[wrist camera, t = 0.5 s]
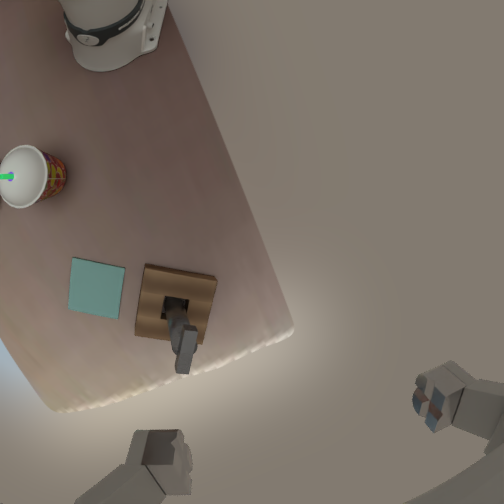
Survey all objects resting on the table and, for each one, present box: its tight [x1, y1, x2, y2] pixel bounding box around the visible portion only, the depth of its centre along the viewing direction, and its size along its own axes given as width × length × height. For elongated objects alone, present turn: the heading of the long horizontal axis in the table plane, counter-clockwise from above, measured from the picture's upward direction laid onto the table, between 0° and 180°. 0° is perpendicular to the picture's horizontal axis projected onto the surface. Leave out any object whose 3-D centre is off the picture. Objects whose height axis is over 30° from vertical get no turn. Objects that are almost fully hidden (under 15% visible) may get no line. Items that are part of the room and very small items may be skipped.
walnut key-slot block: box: [135, 264, 218, 345], centre depth 53 cm, size 13×13×3 cm
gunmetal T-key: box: [164, 296, 198, 374], centre depth 46 cm, size 7×4×18 cm, turn 164°
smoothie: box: [0, 145, 66, 208], centre depth 32 cm, size 8×8×20 cm
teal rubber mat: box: [68, 257, 125, 319], centre depth 48 cm, size 10×10×1 cm
